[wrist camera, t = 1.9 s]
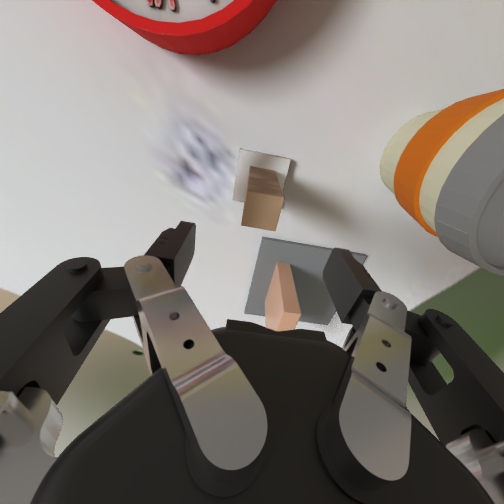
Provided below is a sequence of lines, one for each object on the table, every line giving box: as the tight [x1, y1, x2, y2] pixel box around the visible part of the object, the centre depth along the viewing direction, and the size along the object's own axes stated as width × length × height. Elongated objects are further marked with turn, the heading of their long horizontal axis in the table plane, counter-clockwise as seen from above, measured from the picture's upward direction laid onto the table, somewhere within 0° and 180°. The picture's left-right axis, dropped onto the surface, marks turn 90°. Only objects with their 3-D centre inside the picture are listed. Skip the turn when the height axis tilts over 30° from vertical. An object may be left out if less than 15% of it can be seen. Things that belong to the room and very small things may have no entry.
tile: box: [265, 262, 301, 331], centre depth 31 cm, size 2×9×10 cm, turn 170°
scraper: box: [233, 148, 291, 231], centre depth 22 cm, size 6×6×11 cm
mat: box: [245, 237, 367, 325], centre depth 36 cm, size 16×16×1 cm
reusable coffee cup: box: [380, 89, 504, 276], centre depth 19 cm, size 12×13×15 cm
